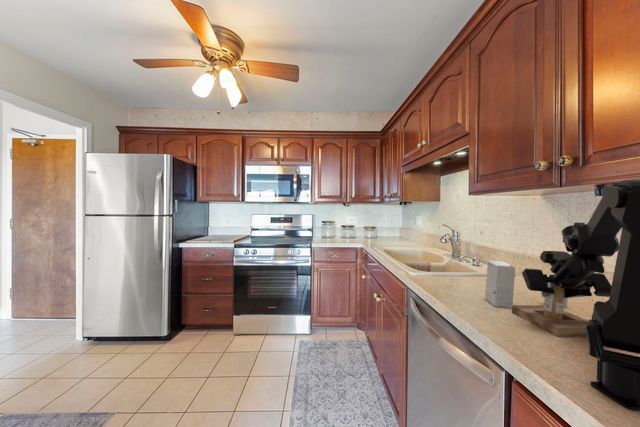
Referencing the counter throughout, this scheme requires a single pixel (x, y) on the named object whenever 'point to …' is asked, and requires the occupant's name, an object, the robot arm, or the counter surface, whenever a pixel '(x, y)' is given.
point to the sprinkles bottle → (554, 304)
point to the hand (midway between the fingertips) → (551, 296)
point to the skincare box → (500, 284)
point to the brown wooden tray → (552, 321)
